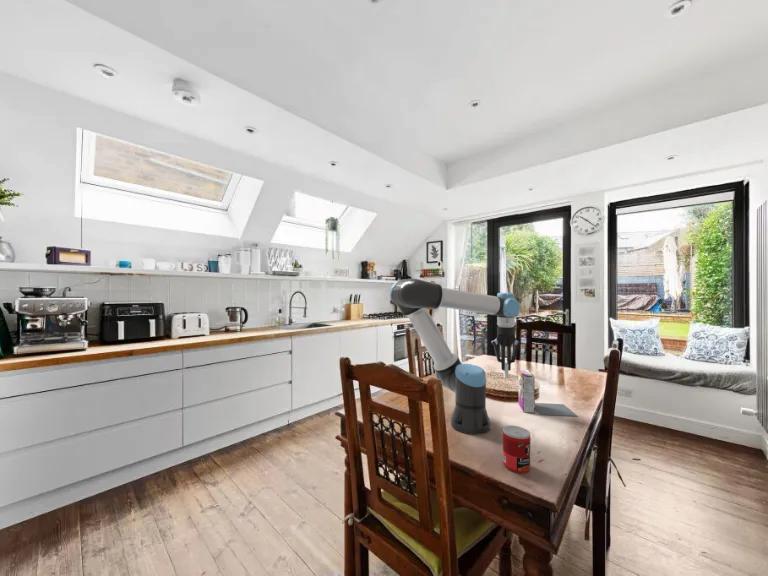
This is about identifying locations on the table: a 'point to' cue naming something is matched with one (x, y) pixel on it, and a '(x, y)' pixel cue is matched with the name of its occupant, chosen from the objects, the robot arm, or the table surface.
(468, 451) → the table surface
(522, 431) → the canned food
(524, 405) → the candy bar box
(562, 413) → the mat
